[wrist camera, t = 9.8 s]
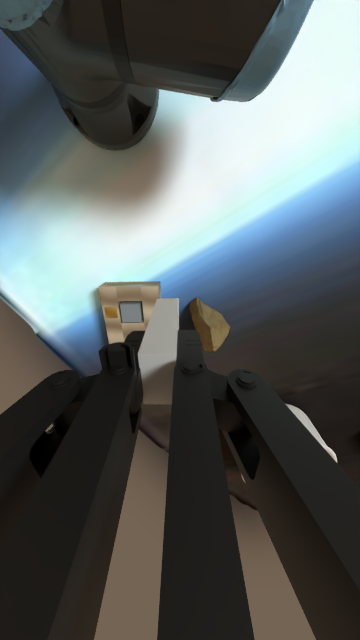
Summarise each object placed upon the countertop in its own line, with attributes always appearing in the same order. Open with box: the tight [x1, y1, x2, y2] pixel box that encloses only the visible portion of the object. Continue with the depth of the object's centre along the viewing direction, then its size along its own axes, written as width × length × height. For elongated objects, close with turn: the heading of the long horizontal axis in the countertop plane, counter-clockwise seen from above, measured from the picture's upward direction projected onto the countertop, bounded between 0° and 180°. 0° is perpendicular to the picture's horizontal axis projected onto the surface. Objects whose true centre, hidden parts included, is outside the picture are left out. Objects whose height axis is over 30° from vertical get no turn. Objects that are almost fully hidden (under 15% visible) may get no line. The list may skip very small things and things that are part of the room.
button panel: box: [98, 282, 161, 344], centre depth 47 cm, size 30×12×4 cm, turn 1°
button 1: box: [120, 301, 144, 322], centre depth 43 cm, size 4×4×3 cm
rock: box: [189, 298, 230, 352], centre depth 43 cm, size 11×9×10 cm
